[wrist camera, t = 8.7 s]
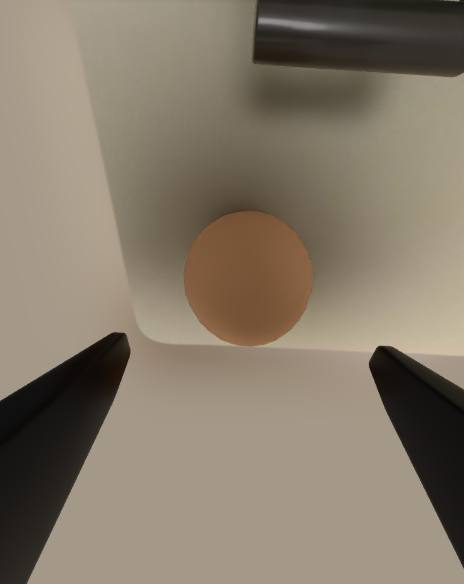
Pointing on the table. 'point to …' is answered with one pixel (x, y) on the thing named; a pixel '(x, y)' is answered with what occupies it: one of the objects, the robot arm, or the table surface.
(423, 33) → the drawer
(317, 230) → the table surface
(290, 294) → the egg
